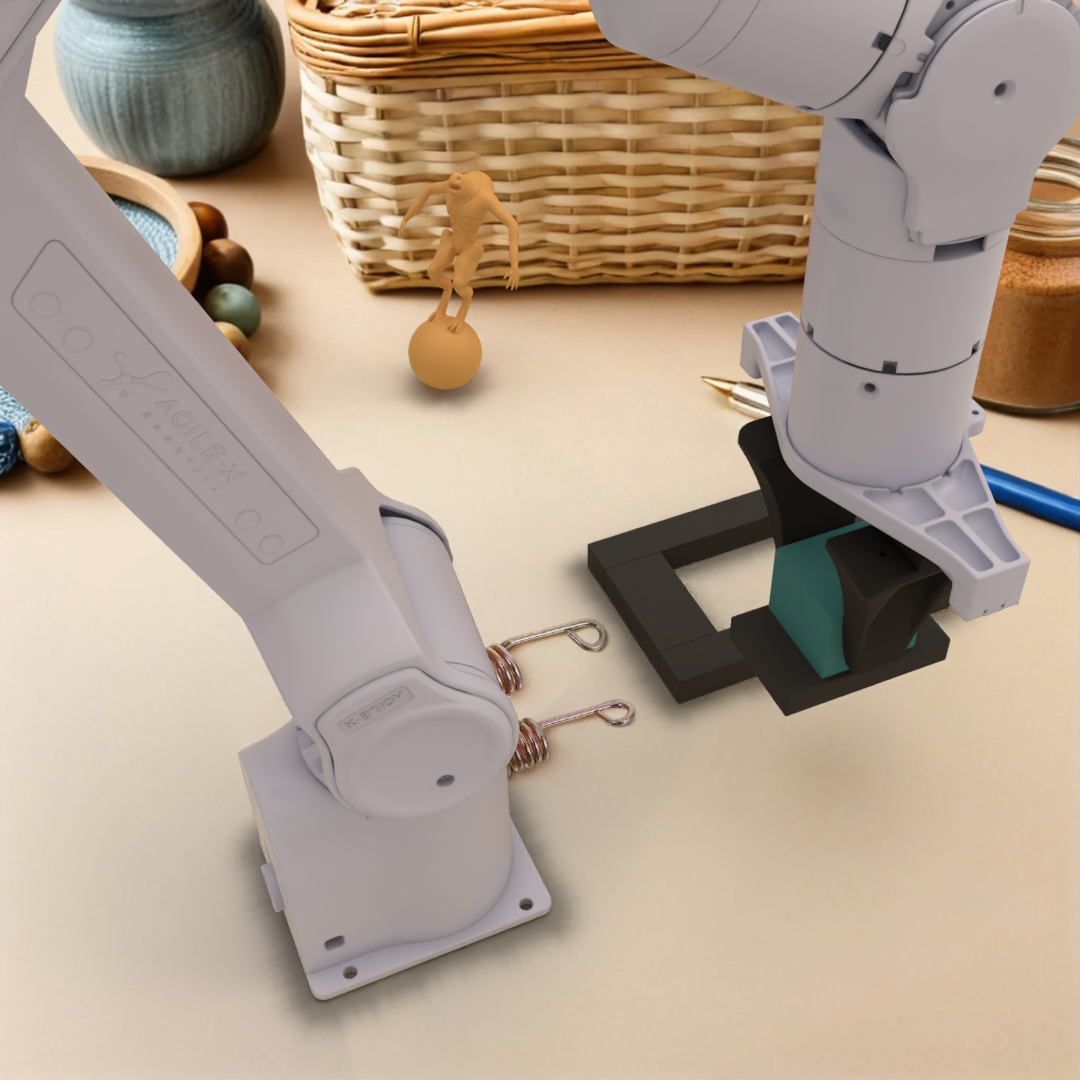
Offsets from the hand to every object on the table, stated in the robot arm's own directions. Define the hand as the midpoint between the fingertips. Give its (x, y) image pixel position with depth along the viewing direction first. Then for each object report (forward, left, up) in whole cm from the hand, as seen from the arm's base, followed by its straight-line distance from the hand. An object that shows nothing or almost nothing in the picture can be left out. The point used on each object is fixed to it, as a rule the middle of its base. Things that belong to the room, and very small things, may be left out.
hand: (840, 620), depth 55 cm
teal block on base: (0, 0, -2) cm, 2 cm away
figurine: (-4, +31, -9) cm, 33 cm away
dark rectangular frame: (+3, +10, -8) cm, 13 cm away
